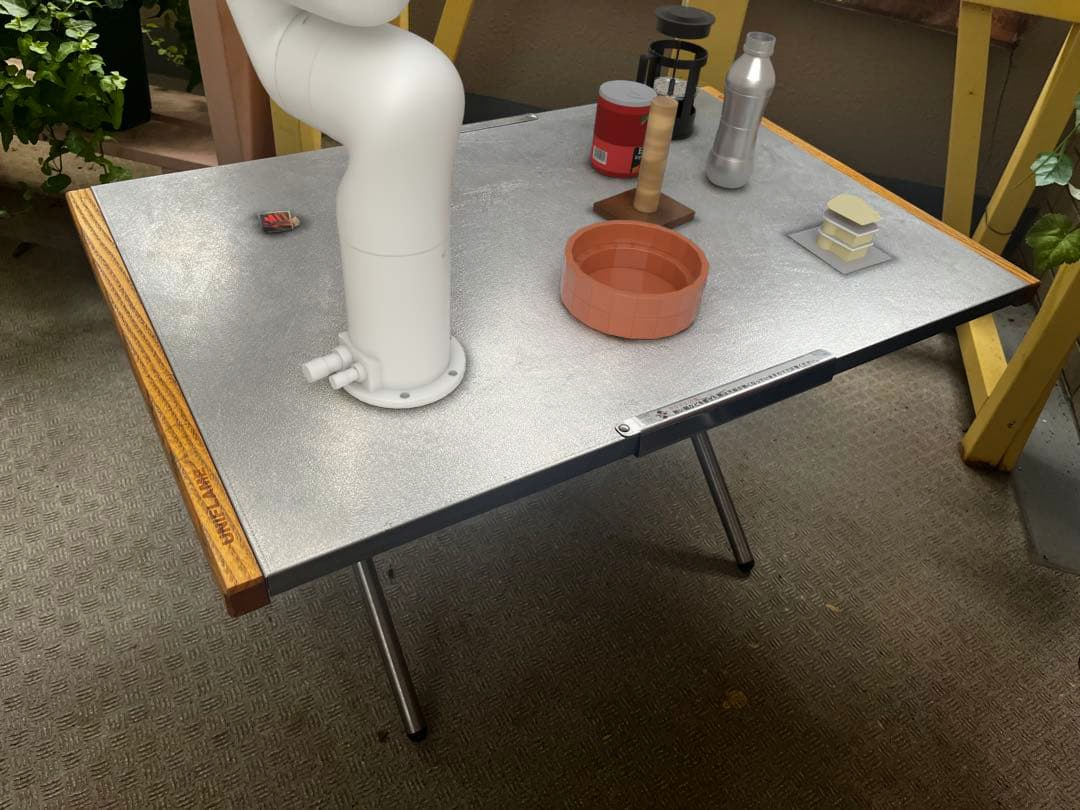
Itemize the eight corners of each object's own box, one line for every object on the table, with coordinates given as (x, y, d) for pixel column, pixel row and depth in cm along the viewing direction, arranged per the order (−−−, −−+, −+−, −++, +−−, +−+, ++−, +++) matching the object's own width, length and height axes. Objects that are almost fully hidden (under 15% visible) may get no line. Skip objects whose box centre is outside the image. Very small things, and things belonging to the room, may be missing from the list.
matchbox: (266, 236, 94) (266, 233, 94) (251, 217, 97) (250, 213, 97) (304, 227, 97) (304, 223, 96) (288, 208, 100) (287, 205, 99)
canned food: (641, 183, 113) (655, 105, 105) (585, 173, 113) (595, 96, 106) (646, 160, 118) (660, 85, 111) (593, 151, 119) (603, 76, 112)
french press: (672, 111, 133) (702, -44, 117) (708, 134, 127) (744, -25, 111) (614, 121, 128) (637, -39, 112) (648, 145, 122) (678, -20, 107)
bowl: (629, 363, 82) (638, 316, 78) (531, 291, 91) (535, 245, 87) (725, 312, 91) (738, 267, 87) (627, 251, 99) (635, 207, 95)
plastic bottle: (721, 197, 111) (759, 48, 98) (692, 176, 116) (725, 30, 102) (757, 189, 114) (798, 43, 100) (727, 169, 118) (763, 26, 105)
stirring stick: (645, 215, 103) (665, 108, 94) (628, 205, 105) (646, 99, 96) (662, 208, 105) (683, 103, 96) (644, 198, 107) (664, 93, 97)
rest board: (641, 241, 101) (643, 232, 100) (592, 211, 106) (593, 202, 105) (693, 219, 106) (695, 211, 105) (644, 191, 111) (646, 183, 110)
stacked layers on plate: (892, 258, 102) (909, 220, 99) (843, 274, 99) (859, 235, 95) (835, 222, 109) (849, 184, 105) (787, 235, 105) (799, 197, 101)
